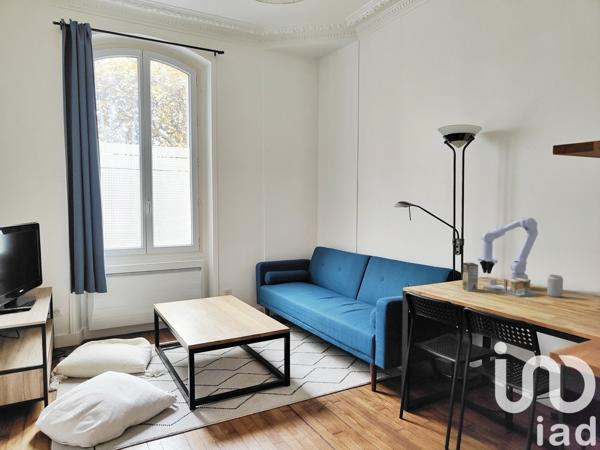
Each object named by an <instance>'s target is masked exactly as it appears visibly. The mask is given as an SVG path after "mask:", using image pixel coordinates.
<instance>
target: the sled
mask: <svg viewBox="0 0 600 450" xmlns="http://www.w3.org/2000/svg"><path fill="white" fill-rule="evenodd" d="M488 284H490V285H494V286H499V287H503V288H504V286H502V285H503V284H501V285H497V284H498V280H497V279H496V278H494V279H492V278H491V279H488ZM507 288H508V289H511V287H507ZM518 291H521V292H525V289H518Z"/></svg>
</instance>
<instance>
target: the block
mask: <svg viewBox="0 0 600 450" xmlns="http://www.w3.org/2000/svg"><path fill="white" fill-rule="evenodd" d="M510 286H511V289H512V290H513V282H510ZM518 289H523V283H522V282H516V290H517V291H518Z"/></svg>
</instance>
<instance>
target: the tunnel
mask: <svg viewBox="0 0 600 450" xmlns="http://www.w3.org/2000/svg"><path fill="white" fill-rule="evenodd" d="M508 282H509V283H511V282H513V291H512V293H516V282H522V283H523V289H525V290H528V291H531V279H529V278H528V279H523V278H513V279H511V278H504V279H503V283H504V284H503V285H504V291H507V286H508Z"/></svg>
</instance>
